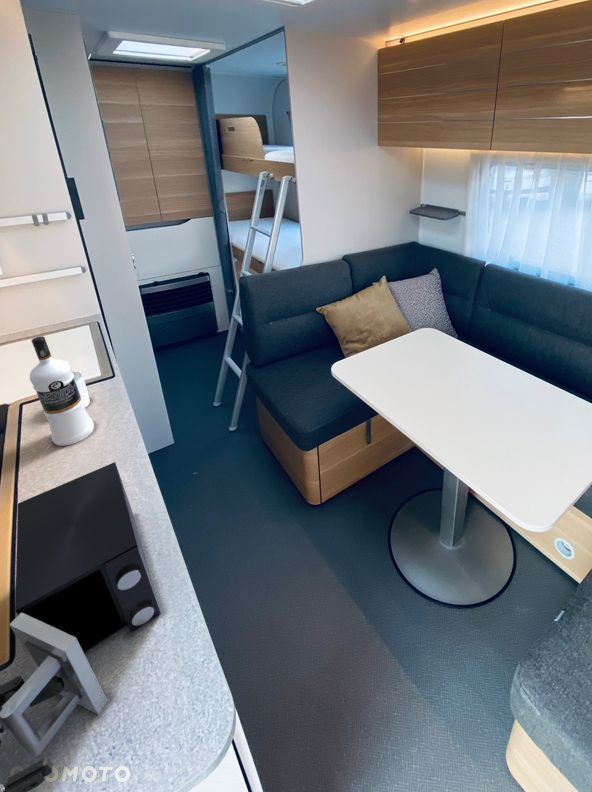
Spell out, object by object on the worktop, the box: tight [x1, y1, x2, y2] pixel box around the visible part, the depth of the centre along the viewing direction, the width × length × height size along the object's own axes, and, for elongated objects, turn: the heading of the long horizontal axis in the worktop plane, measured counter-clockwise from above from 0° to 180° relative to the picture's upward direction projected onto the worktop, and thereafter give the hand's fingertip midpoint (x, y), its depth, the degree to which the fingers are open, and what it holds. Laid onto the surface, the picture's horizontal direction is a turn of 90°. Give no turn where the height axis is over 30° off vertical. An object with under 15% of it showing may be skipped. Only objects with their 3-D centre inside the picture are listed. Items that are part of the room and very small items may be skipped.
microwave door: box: [0, 612, 109, 760], centre depth 54 cm, size 8×10×16 cm
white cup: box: [72, 371, 91, 408], centre depth 120 cm, size 8×8×10 cm
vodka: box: [29, 335, 95, 447], centre depth 105 cm, size 9×9×30 cm
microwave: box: [14, 461, 162, 654], centre depth 70 cm, size 24×15×16 cm, turn 38°
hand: (56, 721), depth 51 cm, fingers open, 8 cm apart
